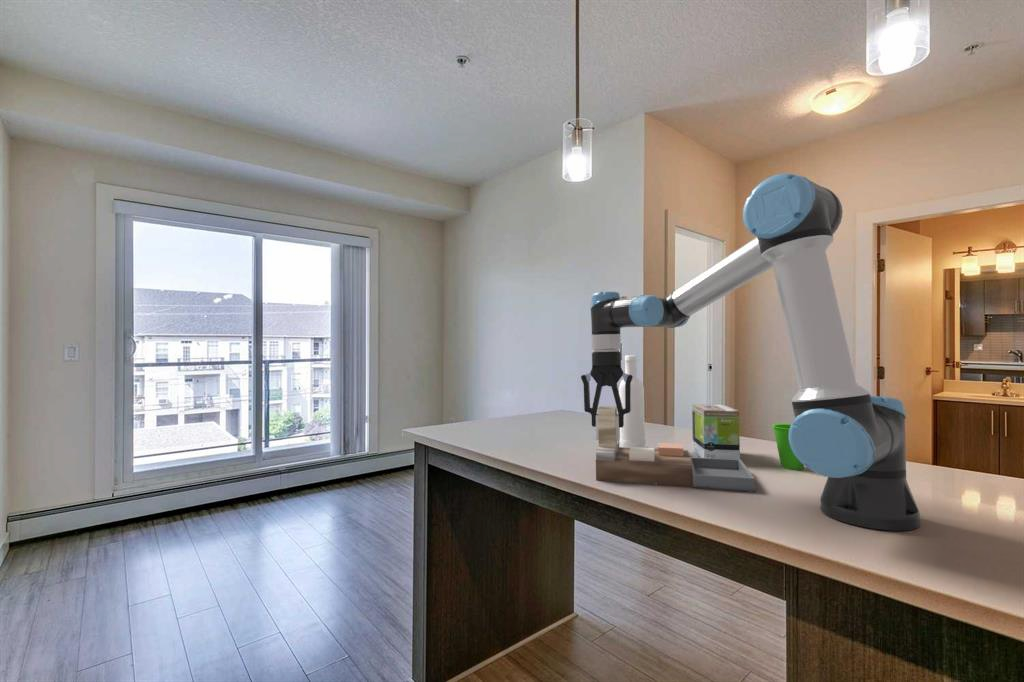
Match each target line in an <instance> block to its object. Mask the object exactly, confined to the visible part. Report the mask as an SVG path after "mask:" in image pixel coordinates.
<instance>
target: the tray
mask: <svg viewBox="0 0 1024 682" xmlns="http://www.w3.org/2000/svg"><path fill="white" fill-rule="evenodd" d="M690 459H691V462H692V474H693V487H695V488H694V489H703V488H707V490H718V489H721V490H722V489H724V490H722V491H733V490H737V491H736V492H748V491H753V492H752V493H755V492H756V487H755V486H756V484H755V483H756V480H755V479H756V478H755V477H754V476H753V474H752V472H751V471H750V470H749V469H748V467H747V466H746V464H745V463H744V462H743V460H742V459H740V460H738V459H718V458H701V457H695V456H694V457H692V456H690ZM693 487H692V488H693Z"/></svg>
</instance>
